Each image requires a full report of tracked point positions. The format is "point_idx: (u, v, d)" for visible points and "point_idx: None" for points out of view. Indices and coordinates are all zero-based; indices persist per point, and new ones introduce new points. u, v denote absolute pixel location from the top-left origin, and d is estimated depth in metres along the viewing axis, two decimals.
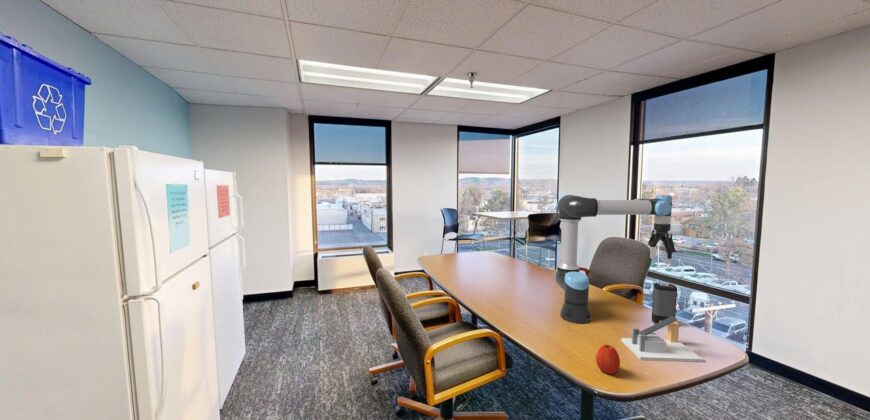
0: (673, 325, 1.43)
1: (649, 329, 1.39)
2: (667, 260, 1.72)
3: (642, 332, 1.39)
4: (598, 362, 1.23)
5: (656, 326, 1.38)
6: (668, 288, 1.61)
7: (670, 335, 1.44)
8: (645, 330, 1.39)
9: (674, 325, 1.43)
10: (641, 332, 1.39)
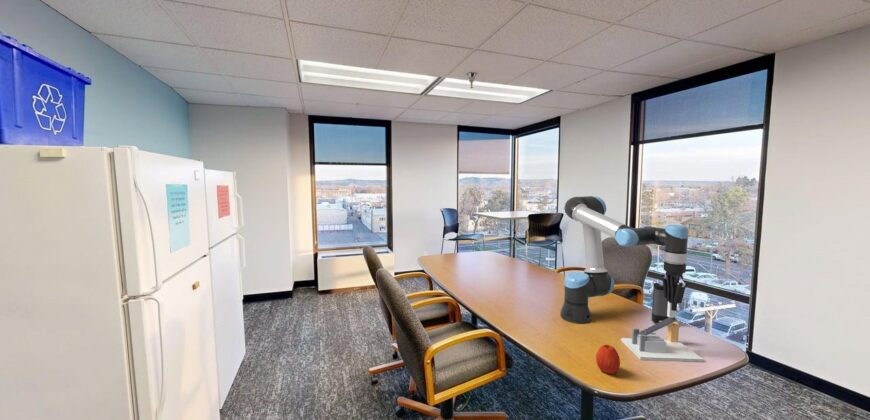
0: (673, 325, 1.43)
1: (649, 329, 1.39)
2: (671, 312, 1.36)
3: (642, 332, 1.39)
4: (598, 362, 1.23)
5: (656, 326, 1.38)
6: None
7: (670, 335, 1.44)
8: (645, 330, 1.39)
9: (674, 325, 1.43)
10: (641, 332, 1.39)
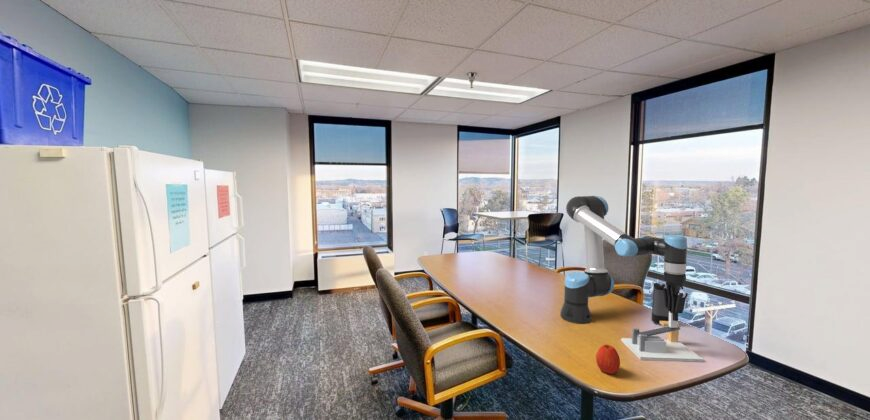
0: None
1: (650, 332, 1.39)
2: (672, 322, 1.36)
3: (643, 333, 1.39)
4: (598, 362, 1.23)
5: (658, 330, 1.38)
6: None
7: (670, 335, 1.44)
8: (646, 332, 1.39)
9: None
10: (642, 333, 1.39)
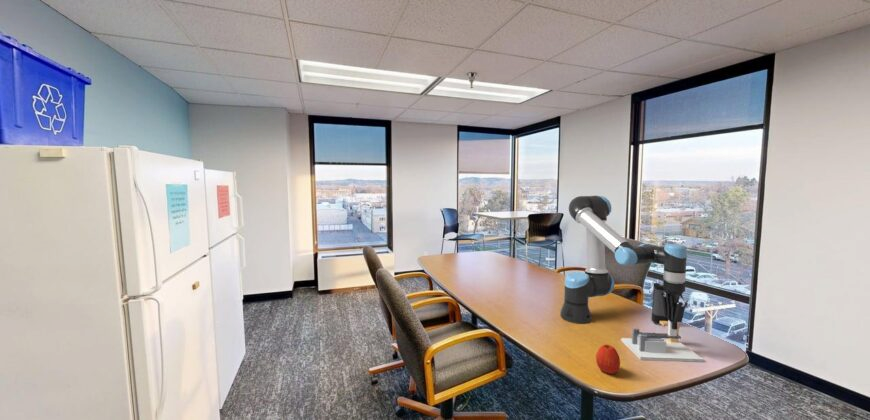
0: None
1: (651, 334, 1.39)
2: (672, 331, 1.37)
3: (643, 334, 1.39)
4: (598, 362, 1.23)
5: (659, 335, 1.38)
6: None
7: None
8: (646, 333, 1.39)
9: None
10: (642, 334, 1.39)
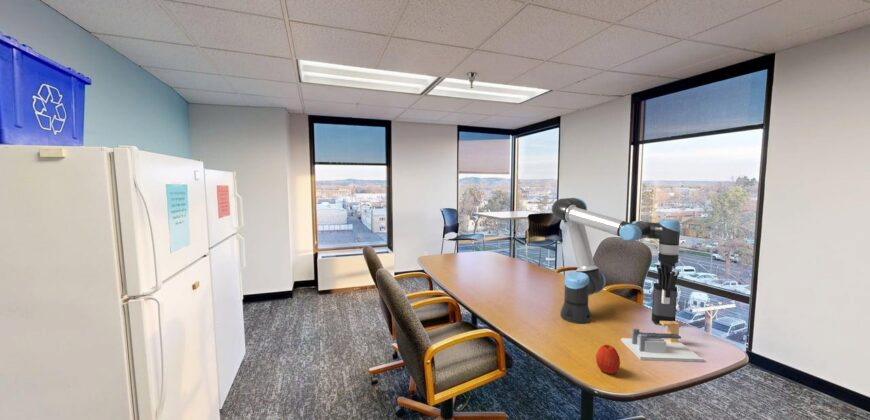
0: (673, 325, 1.43)
1: (651, 334, 1.39)
2: (665, 299, 1.49)
3: (643, 334, 1.39)
4: (598, 362, 1.23)
5: (659, 335, 1.38)
6: None
7: None
8: (646, 334, 1.39)
9: (674, 325, 1.43)
10: (642, 334, 1.39)
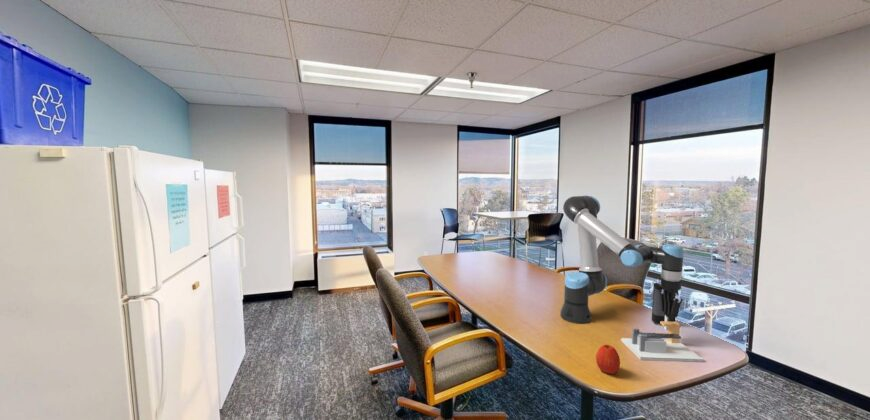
0: (674, 325, 1.43)
1: (651, 334, 1.39)
2: None
3: (643, 334, 1.39)
4: (598, 362, 1.23)
5: (659, 335, 1.38)
6: None
7: None
8: (646, 334, 1.39)
9: (675, 325, 1.43)
10: (642, 334, 1.39)
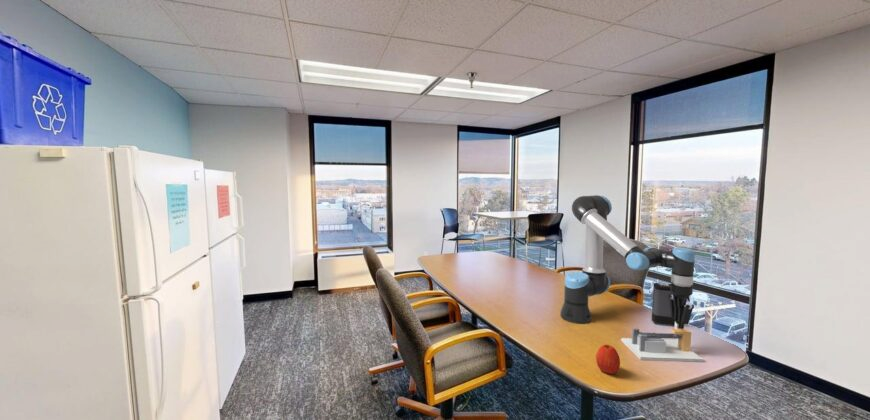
0: (685, 333, 1.36)
1: (651, 334, 1.39)
2: None
3: (643, 334, 1.39)
4: (598, 362, 1.23)
5: (659, 335, 1.38)
6: (668, 288, 1.61)
7: (681, 343, 1.37)
8: (646, 334, 1.39)
9: (686, 333, 1.36)
10: (642, 334, 1.39)
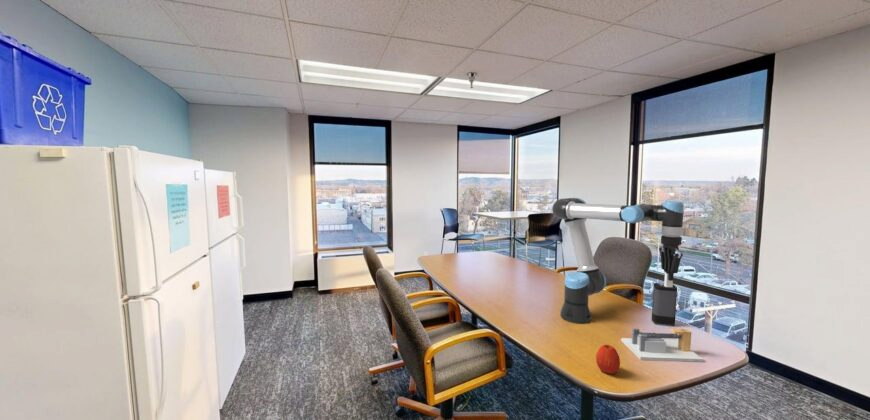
0: (685, 333, 1.36)
1: (651, 334, 1.39)
2: (668, 282, 1.47)
3: (643, 334, 1.39)
4: (598, 362, 1.23)
5: (659, 335, 1.38)
6: (668, 288, 1.61)
7: (682, 344, 1.37)
8: (646, 334, 1.39)
9: (686, 333, 1.36)
10: (642, 334, 1.39)
